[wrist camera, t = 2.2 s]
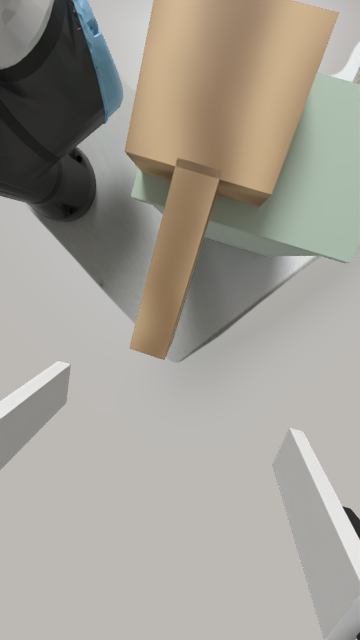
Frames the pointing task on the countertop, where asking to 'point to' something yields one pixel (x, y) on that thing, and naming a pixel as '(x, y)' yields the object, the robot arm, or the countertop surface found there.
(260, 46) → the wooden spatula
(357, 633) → the robot arm
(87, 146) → the countertop surface
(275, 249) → the sage green shelf box
